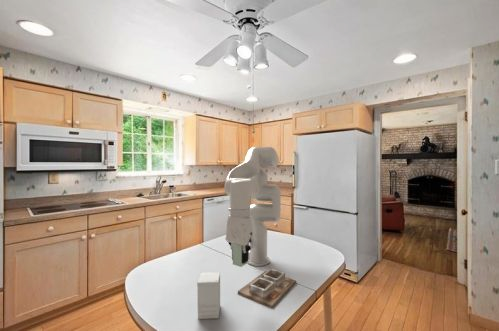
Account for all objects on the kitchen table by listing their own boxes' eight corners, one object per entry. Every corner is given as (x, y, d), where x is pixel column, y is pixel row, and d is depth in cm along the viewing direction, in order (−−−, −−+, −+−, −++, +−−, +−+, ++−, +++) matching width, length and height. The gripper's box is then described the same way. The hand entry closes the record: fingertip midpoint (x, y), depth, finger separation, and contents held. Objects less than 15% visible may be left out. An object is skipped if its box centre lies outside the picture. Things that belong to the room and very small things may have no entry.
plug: (232, 264, 84) (232, 243, 84) (239, 260, 88) (239, 240, 88) (241, 267, 82) (241, 245, 82) (247, 263, 85) (247, 242, 85)
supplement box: (220, 305, 84) (220, 271, 84) (218, 319, 76) (218, 282, 76) (200, 305, 84) (201, 272, 84) (196, 319, 76) (197, 282, 76)
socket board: (237, 293, 92) (237, 283, 92) (265, 272, 110) (265, 264, 110) (271, 308, 82) (271, 297, 82) (296, 282, 100) (296, 273, 100)
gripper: (217, 211, 87) (217, 258, 87) (252, 217, 77) (252, 270, 77) (229, 208, 93) (229, 252, 93) (264, 213, 83) (264, 262, 83)
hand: (240, 260), depth 85 cm, fingers closed on plug, 4 cm apart
